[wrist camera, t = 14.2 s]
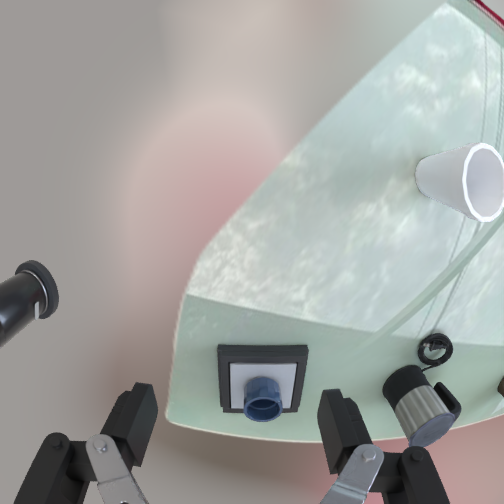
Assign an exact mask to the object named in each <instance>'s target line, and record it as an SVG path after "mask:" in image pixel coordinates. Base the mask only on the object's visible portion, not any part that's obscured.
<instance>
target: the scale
mask: <svg viewBox="0 0 504 504" xmlns="http://www.w3.org/2000/svg"><path fill="white" fill-rule="evenodd" d="M217 352H218V372H219V389H220V404H221V407H223V412H226V413H244V412H243V410H244V409H241V408H231V382H230V362H243V363H288V362H296V372H295V379H294V386H293V393H292V399H291V406H290V408H283V410H282V413H291V412H297V411H298V407H299V406H300V400H301V395H302V389H303V383H304V377H305V371H306V365H307V359H308V352H309V350H308V347H307V345H289V346H249V345H218V350H217Z"/></svg>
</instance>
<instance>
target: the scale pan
mask: <svg viewBox="0 0 504 504" xmlns="http://www.w3.org/2000/svg"><path fill="white" fill-rule="evenodd" d="M295 372H296V362H288V363H243V362H230V382H231V408H241V409H244V387H245V386H246V384H247V383H248V382H249V381H251V380H253V379H255V378H260V377H266V378H270V379H273V380H274V381H276V382H277V383H278V384H279V386H280V389H281V397H282V404H283V408H290V406H291V399H292V393H293V386H294V379H295Z"/></svg>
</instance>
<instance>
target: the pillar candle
mask: <svg viewBox="0 0 504 504" xmlns="http://www.w3.org/2000/svg"><path fill="white" fill-rule="evenodd" d="M498 392H499V393H500V394H501V395H502V396H503V397H504V378H503V380H502V381H501V383H500V384H499V387H498Z"/></svg>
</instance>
